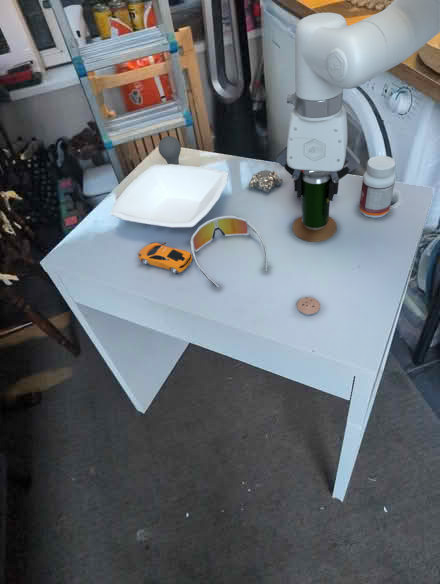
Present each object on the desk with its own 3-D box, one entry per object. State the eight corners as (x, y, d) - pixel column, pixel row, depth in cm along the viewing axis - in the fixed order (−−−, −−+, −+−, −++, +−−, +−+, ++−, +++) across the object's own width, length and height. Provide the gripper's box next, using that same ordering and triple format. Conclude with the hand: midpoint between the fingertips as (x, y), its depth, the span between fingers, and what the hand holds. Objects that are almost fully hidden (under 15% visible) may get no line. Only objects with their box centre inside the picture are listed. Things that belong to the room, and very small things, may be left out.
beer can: (304, 232, 87) (304, 180, 79) (299, 216, 91) (299, 165, 83) (330, 229, 87) (334, 176, 78) (325, 213, 91) (328, 161, 82)
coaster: (339, 217, 92) (340, 215, 91) (332, 244, 86) (332, 243, 86) (297, 212, 94) (297, 211, 94) (288, 239, 89) (288, 237, 89)
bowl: (202, 252, 90) (197, 230, 86) (108, 236, 98) (100, 215, 94) (239, 191, 103) (236, 169, 99) (154, 181, 111) (149, 161, 107)
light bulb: (161, 177, 112) (151, 141, 105) (172, 166, 115) (163, 130, 108) (179, 180, 110) (170, 144, 103) (190, 169, 113) (182, 133, 106)
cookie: (299, 297, 77) (299, 293, 77) (322, 300, 76) (322, 297, 75) (294, 313, 75) (294, 309, 74) (318, 317, 74) (318, 313, 73)
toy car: (150, 246, 93) (146, 233, 91) (197, 259, 88) (194, 246, 86) (134, 263, 90) (129, 251, 88) (182, 278, 85) (178, 265, 83)
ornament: (250, 198, 101) (249, 184, 98) (247, 182, 105) (246, 168, 103) (284, 193, 100) (284, 179, 97) (280, 177, 105) (280, 163, 102)
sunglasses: (247, 224, 94) (246, 207, 90) (276, 274, 85) (277, 258, 81) (185, 244, 92) (181, 228, 88) (208, 298, 83) (205, 282, 79)
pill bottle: (360, 200, 95) (366, 152, 86) (390, 202, 93) (399, 154, 84) (357, 217, 91) (362, 169, 83) (388, 220, 89) (397, 171, 81)
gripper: (262, 111, 72) (268, 202, 85) (370, 114, 66) (358, 210, 79) (273, 92, 76) (277, 181, 89) (375, 93, 71) (364, 187, 84)
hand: (315, 194), depth 84 cm, fingers closed on beer can, 5 cm apart
